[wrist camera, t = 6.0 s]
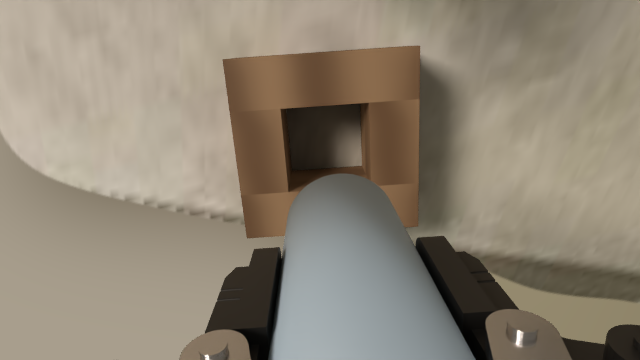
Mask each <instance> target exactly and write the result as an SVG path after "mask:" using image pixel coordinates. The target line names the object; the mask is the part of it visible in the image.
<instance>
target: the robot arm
mask: <svg viewBox="0 0 640 360" xmlns="http://www.w3.org/2000/svg"><path fill="white" fill-rule="evenodd" d="M416 250H417V251H418V253H419V255H420V257H421V259H422V261H423V263H424V264H425V266H426V268H427V270H428V272H429V274H430V276H431V277H432V279H433V281H434V283H435V285H436V287H437V289H438V291H439V292H440V294H441V296H442V298H443V300H444V302H445V304H446V305H447V307H448V309H449V311H450V313H451V315H452V317H453V318H454V320H455V322H456V324H457V326H458V328H459V330H460V332H461V333H462V335H463V337H464V339H465V341H466V343H467V345H468V346H469V348H470V350H471V352H472V354H473V356H474V358H475V359H476V360H640V326H639V325H619V326H615V327H613V328H611V329H610V330H609V331H608V333H607V336H606V342H605V344H598V343H591V342H584V341H577V340H571V339H566V338H562V337H561V336H560V334H559V332H558V330H557V329H556V328H555V327H554V326H553V325H552V324H551V323H550V322H549V321H547V320H546V319H544V318H542V317H540V316H538V315H535V314H533V313H530V312H527V311H522V310H519V309H518V308H517V306H516V305H515V304H514V303H513V301H512V300H511V299H510V298H509V296H508V295H507V294H506V293H505V291H504V290H503V289H502V288H501V286H500V285H499V284H498V283H497V282H495V279H494V278H493V277H492V275H491V274H490V273H488V270H487V269H486V268H485V267H484V265H483V264H482V263H481V262H480V260H478V259H477V258H475V257H473V256H471V255H470V254H468V253H466V252H465V251H463V252H455V250H454V249H453V248H452V246H451V245H450V243H449V242H448V241H447V239H446V238H445V237H444V236H435V237H421V238H417V240H416ZM281 261H282V258H281V251H280V248H279V247H277V248H263V249H254V251H253V254H252V258H251V261H250V265H249V267H236V268H235V269H234V270H233V271H232V272H231V273H230V274H229V275H228V276H227V277H226V278H225V280H224V283H223V285H222V288H221V292H220V293H219V296H218V299H217V302H216V304H215V307H214V309H213V313H212V315H211V318H210V320H209V323H208V326H207V329H206V331H205V334H203V335H201V336H199V337H197V338H196V339H194V340H192V341H191V342H190V343H189V344H188V345H187V346H186V347H185V348H184V349H183V351H182V352H181V355H180V358H179V360H268V357H269V349H270V342H271V335H272V327H273V320H274V313H275V305H276V298H277V290H278V283H279V276H280V268H281Z"/></svg>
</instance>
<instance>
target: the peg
mask: <svg viewBox="0 0 640 360" xmlns="http://www.w3.org/2000/svg"><path fill="white" fill-rule="evenodd" d="M268 360H476V359H475V358H474V356H473V354H472V352H471V350H470V348H469V346H468V345H467V343H466V341H465V339H464V337H463V335H462V333H461V332H460V330H459V328H458V326H457V324H456V322H455V320H454V318H453V317H452V315H451V313H450V311H449V309H448V307H447V305H446V304H445V302H444V300H443V298H442V296H441V294H440V292H439V291H438V289H437V287H436V285H435V283H434V281H433V279H432V277H431V276H430V274H429V272H428V270H427V268H426V266H425V264H424V263H423V261H422V259H421V257H420V255H419V253H418V251H417V250H416V248H415V246H414V244H413V242H412V240H411V238H410V236H409V235H408V233H407V231H406V229H405V227H404V225H403V223H402V222H401V220H400V218H399V216H398V214H397V212H396V210H395V209H394V207H393V205H392V203H391V201H390V199H389V198H388V196H387V195H386V193H385V192H384V191H383V190H382V189H381V188H380V187H379V186H378V185H376V184H375V183H374V182H372V181H370V180H368V179H366V178H364V177H361V176H358V175H354V174H332V175H328V176H324V177H321V178H319V179H317V180H315V181H313V182H311V183H310V184H308V185H307V186H306V187H305V188H303V189H302V190H301V191H300V192H299V194H298V195H297V196H296V197H295V199H294V201H293V203H292V204H291V207H290V209H289V213H288V217H287V224H286V232H285V239H284V246H283V255H282V261H281V268H280V276H279V283H278V290H277V298H276V305H275V313H274V320H273V327H272V335H271V342H270V349H269V357H268Z"/></svg>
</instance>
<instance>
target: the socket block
mask: <svg viewBox="0 0 640 360" xmlns="http://www.w3.org/2000/svg"><path fill="white" fill-rule="evenodd" d="M223 66H224V73H225V81H226V88H227V95H228V103H229V110H230V117H231V125H232V132H233V139H234V147H235V154H236V161H237V169H238V176H239V183H240V191H241V198H242V205H243V213H244V220H245V227H246V235H247V238H258V237H273V236H285V232H286V224H287V217H288V213H289V209H290V207H291V204H292V203H293V201H294V199H295V197H296V196H297V195H298V194H299V192H300V191H301V190H302V189H303V188H305V187H306V186H307V185H308V184H310V183H311V182H313V181H315V180H317V179H319V178H321V177H324V176H328V175H332V174H354V175H358V176H361V177H364V178H366V179H368V180H370V181H372V182H374V183H375V184H376V185H378V186H379V187H380V188H381V189H382V190H383V191H384V192H385V193H386V195H387V196H388V198H389V199H390V201H391V203H392V205H393V207H394V209H395V210H396V212H397V214H398V216H399V218H400V220H401V222H402V223H403V225H404V227H416V226H418V189H419V96H420V46H402V47H388V48H373V49H359V50H345V51H331V52H316V53H302V54H288V55H273V56H259V57H245V58H233V59H223ZM357 103H360V117H361V146H362V166H354V167H340V168H326V169H311V170H297V171H292V167H291V156H290V146H289V135H288V124H287V113H286V108H300V107H314V106H328V105H343V104H357Z"/></svg>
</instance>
